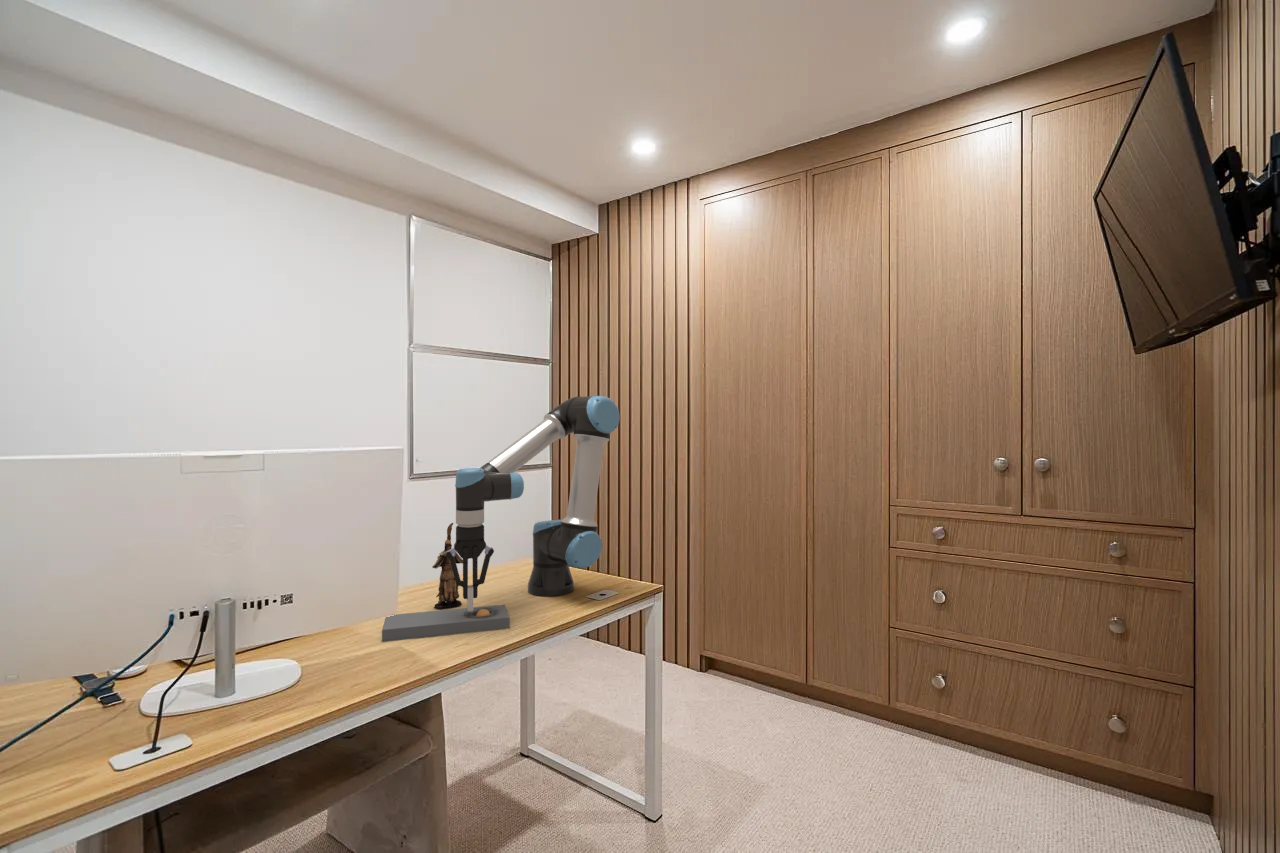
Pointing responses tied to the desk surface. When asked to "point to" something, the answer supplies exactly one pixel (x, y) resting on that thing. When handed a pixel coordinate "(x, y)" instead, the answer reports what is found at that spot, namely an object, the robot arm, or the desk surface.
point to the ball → (483, 612)
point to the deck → (444, 623)
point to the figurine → (447, 577)
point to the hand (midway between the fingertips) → (470, 609)
